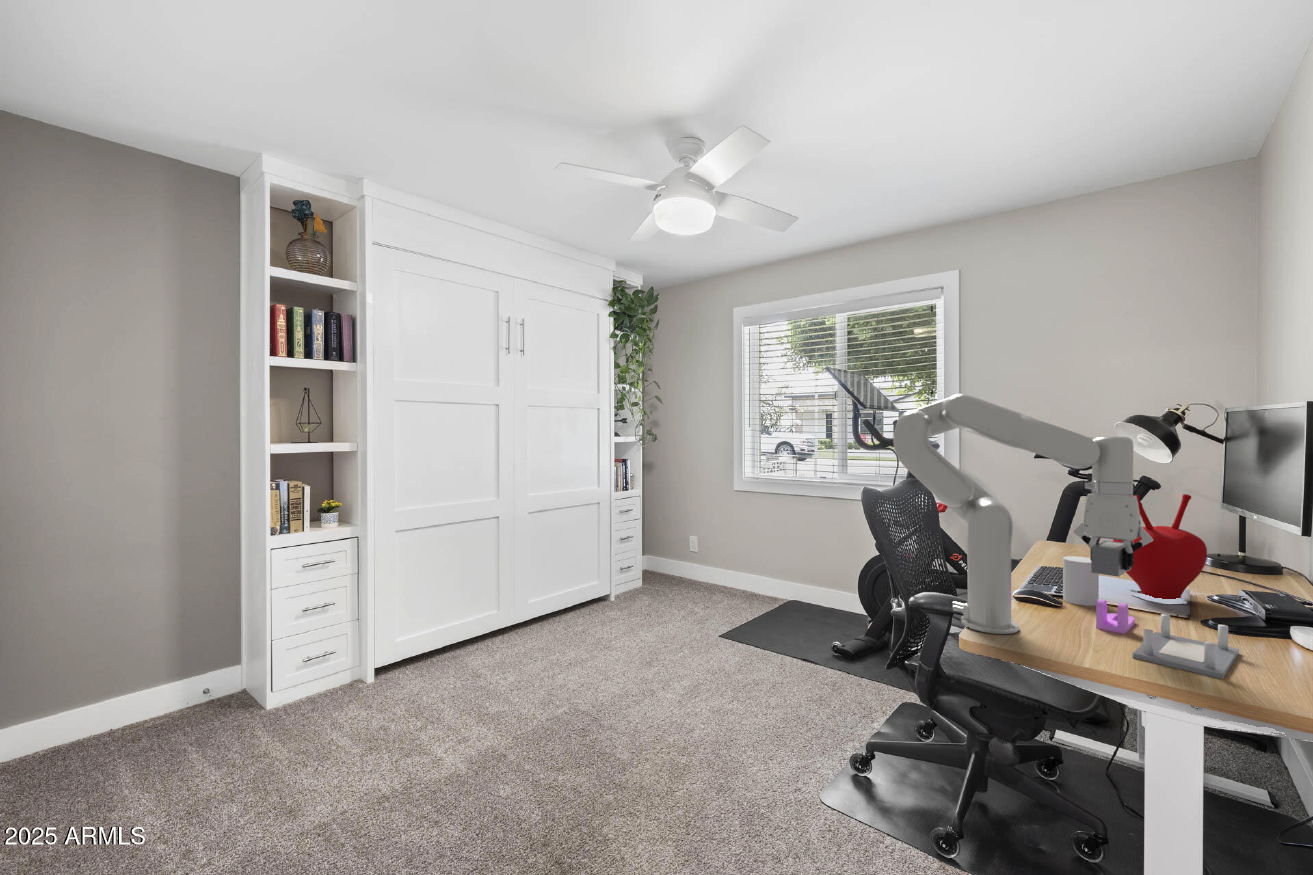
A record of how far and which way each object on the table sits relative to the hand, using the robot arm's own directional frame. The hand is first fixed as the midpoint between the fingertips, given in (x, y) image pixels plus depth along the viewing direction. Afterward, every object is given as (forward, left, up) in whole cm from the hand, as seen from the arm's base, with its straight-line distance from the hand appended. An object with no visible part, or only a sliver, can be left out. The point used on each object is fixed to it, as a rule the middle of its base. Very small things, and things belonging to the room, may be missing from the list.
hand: (1111, 566), depth 135 cm
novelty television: (0, +48, -17) cm, 51 cm away
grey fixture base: (+13, 0, -17) cm, 21 cm away
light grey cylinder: (-14, +29, -17) cm, 37 cm away
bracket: (-2, +13, -18) cm, 22 cm away
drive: (0, 0, -1) cm, 1 cm away
